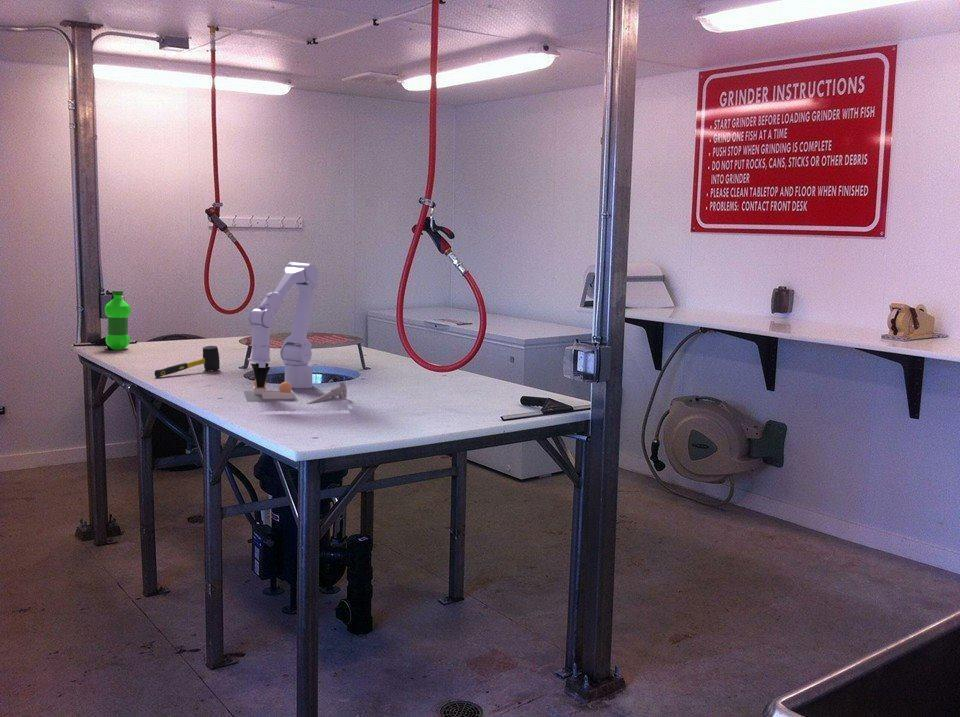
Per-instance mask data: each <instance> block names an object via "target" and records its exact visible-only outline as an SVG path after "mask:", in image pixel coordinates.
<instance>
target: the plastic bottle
mask: <svg viewBox="0 0 960 717" xmlns="http://www.w3.org/2000/svg"><path fill="white" fill-rule="evenodd" d="M111 293H112V296H113V298H112V299H111V300H110V301H109V302H107V303H106V304H105V306H104V314H105V316H107V334H106V336H105V344H106V345H107V346H108V347H109V348H110V349H111V350H118V351H119V350H125V349H126V348H127V347H128V346H129V344H130V342H131V338H130V335H129V332H128V329H129V328H128V327H129V326H128V324H129V323H128V322H129V321H128V320H129V317H130V316H131V314H132V307H131V306H130V304H128V303H127V302H126V301H125V300H124V299H123V296H124V290H112V292H111Z"/></svg>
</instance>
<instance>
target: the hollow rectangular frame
mask: <svg viewBox="0 0 960 717" xmlns="http://www.w3.org/2000/svg"><path fill="white" fill-rule="evenodd" d="M294 395H295V393H294V391H293V389H292V390H291V392H285V393H281V392H280V390H279V389H277V390H276V389H275V390H274V389H273V390H268V389H267V390H262V398H263V399H293V398H294Z"/></svg>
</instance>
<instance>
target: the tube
mask: <svg viewBox="0 0 960 717" xmlns="http://www.w3.org/2000/svg"><path fill="white" fill-rule="evenodd" d="M262 390H268V387H267V385H266V386H265V388H256V387H255V386H254V385H253V386H252V391H253V394H262Z"/></svg>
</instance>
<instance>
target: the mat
mask: <svg viewBox="0 0 960 717" xmlns="http://www.w3.org/2000/svg"><path fill="white" fill-rule="evenodd" d="M243 393H244V396H245V399H246V402H248V403H249V402H250V403H251V402H252V403H253V402H254V403H255V402H259V403H260V402H299V399H298V398H297V396H296V394H294V398H293V399H263V398H262V394H253V390H243Z"/></svg>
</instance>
